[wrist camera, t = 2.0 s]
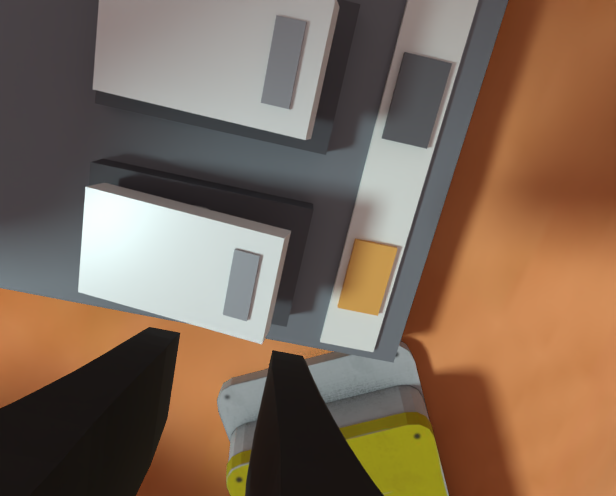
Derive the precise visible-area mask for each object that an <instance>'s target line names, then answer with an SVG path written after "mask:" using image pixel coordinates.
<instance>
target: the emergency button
mask: <svg viewBox="0 0 616 496" xmlns="http://www.w3.org/2000/svg"><path fill="white" fill-rule="evenodd" d="M305 361H306V363H307V365H308V368H309V370H310V372H311V374H312V377H313V379H314V381H315V383H316V385H317V387H318V390H319V392H320V394H321V396H322V398H323V400H324V402H325V404H326V405H327V407H328V409H329V411H330V413H331V415H332V416H333V418H334V420H335V422H336V424H337V425H338V427H339V429H340V431H341V432H342V434H343V436H344V437H345V439H346V441H347V442H348V444H349V446H350V447H351V449H352V450H353V452H354V454H355V455H356V457H357V458H358V460H359V461H360V463H361V464H362V466H363V467H364V469H365V470H366V472H367V473H368V475H369V476H370V478H371V479H372V480H373V482H374V483H375V485H376V486H377V487H378V488H379V490H380V491H381V492H382V494H383V495H384V496H449V493H448V489H447V485H446V481H445V477H444V473H443V469H442V465H441V461H440V457H439V453H438V449H437V445H436V441H435V437H434V433H433V429H432V425H431V423H430V420H429V416H428V412H427V408H426V404H425V400H424V396H423V392H422V388H421V384H420V380H419V376H418V372H417V368H416V364H415V361H414V358H413V356H412V354H411V352H410V350H409V348H408V346H407V344H405V343H403V342H402V341H400V344H399V347H398V350H397V353H396V356H395V360H394V363H392V362H387V361H382V360H377V359H371V358H366V357H361V356H356V355H350V354H345V353H340V352H331V353H327V354H323V355H320V356H316V357H312V358H308V359H305ZM267 373H268V369H265V370H261V371H257V372H253V373H249V374H245V375H241V376H238V377H234V378H231V379H230V380H228V381H226V382H224V383H223V386H222V388H221V390H220V392H219V396H218V399H217V404H218V412H219V414H220V417H221V420H222V422H223V425H224V427H225V430H226V433H227V435H228V438H229V441H230V451H229V459H228V463H227V471H226V485H227V489H228V491H229V494H230V496H245V490H246V479H247V473H248V467H249V461H250V455H251V449H252V443H253V437H254V432H255V427H256V423H257V418H258V414H259V409H260V405H261V400H262V396H263V391H264V387H265V382H266V378H267Z"/></svg>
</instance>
